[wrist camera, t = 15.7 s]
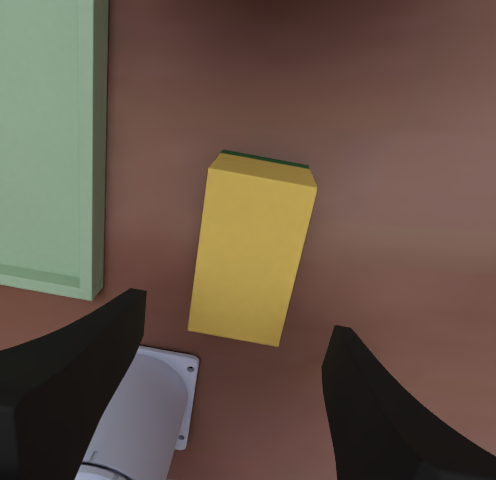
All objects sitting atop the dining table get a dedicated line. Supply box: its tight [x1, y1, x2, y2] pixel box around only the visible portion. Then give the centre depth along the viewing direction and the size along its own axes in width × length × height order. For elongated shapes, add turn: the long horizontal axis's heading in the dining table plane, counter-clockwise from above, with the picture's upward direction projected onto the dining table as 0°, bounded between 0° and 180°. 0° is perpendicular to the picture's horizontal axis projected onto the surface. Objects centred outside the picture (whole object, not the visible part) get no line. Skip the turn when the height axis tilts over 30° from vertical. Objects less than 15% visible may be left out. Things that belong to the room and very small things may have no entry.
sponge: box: [188, 150, 318, 347], centre depth 21 cm, size 9×5×5 cm, turn 170°
